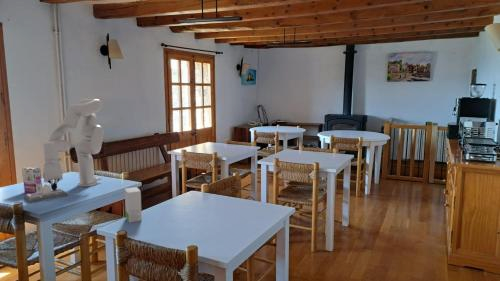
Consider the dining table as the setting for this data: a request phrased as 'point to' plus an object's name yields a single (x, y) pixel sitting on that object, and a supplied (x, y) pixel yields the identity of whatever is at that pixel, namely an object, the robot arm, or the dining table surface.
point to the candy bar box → (32, 180)
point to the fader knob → (46, 189)
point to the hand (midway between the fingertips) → (54, 189)
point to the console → (45, 195)
